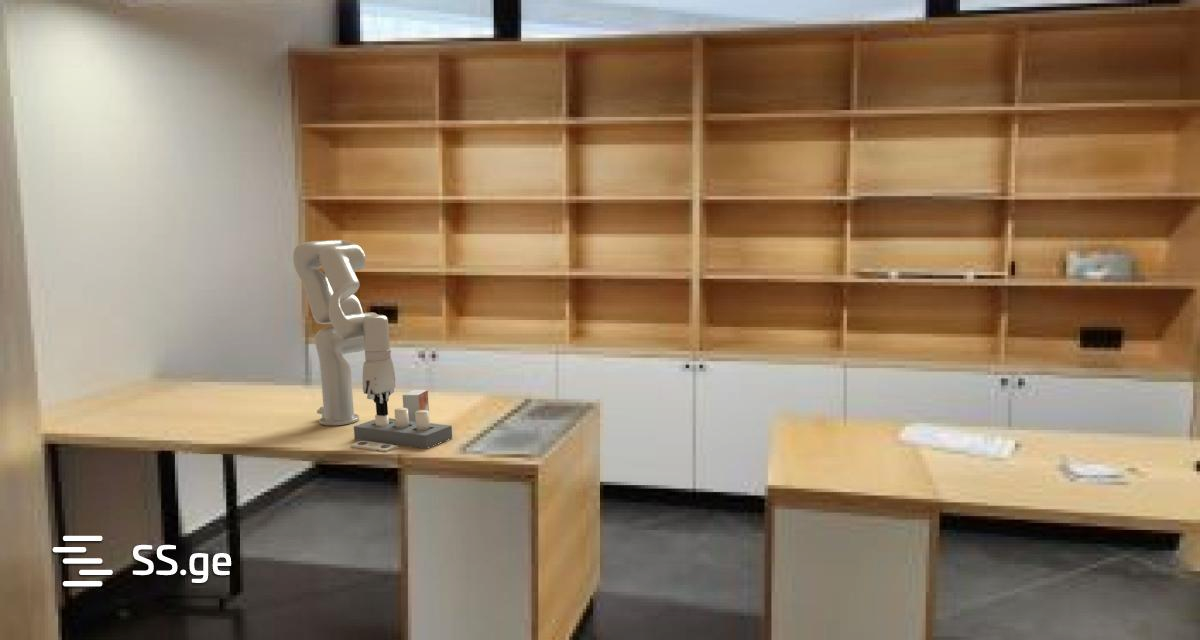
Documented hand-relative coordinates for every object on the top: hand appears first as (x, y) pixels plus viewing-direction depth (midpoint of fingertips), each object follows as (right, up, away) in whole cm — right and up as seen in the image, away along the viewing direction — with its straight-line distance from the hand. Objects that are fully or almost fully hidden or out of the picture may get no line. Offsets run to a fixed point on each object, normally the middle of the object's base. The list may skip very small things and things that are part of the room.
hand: (382, 414), depth 284 cm
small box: (+8, -5, +15) cm, 18 cm away
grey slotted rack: (+7, -7, -3) cm, 10 cm away
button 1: (0, -7, +1) cm, 7 cm away
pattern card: (0, -8, -11) cm, 14 cm away
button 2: (+7, -5, -3) cm, 9 cm away
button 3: (+14, -5, -7) cm, 16 cm away
